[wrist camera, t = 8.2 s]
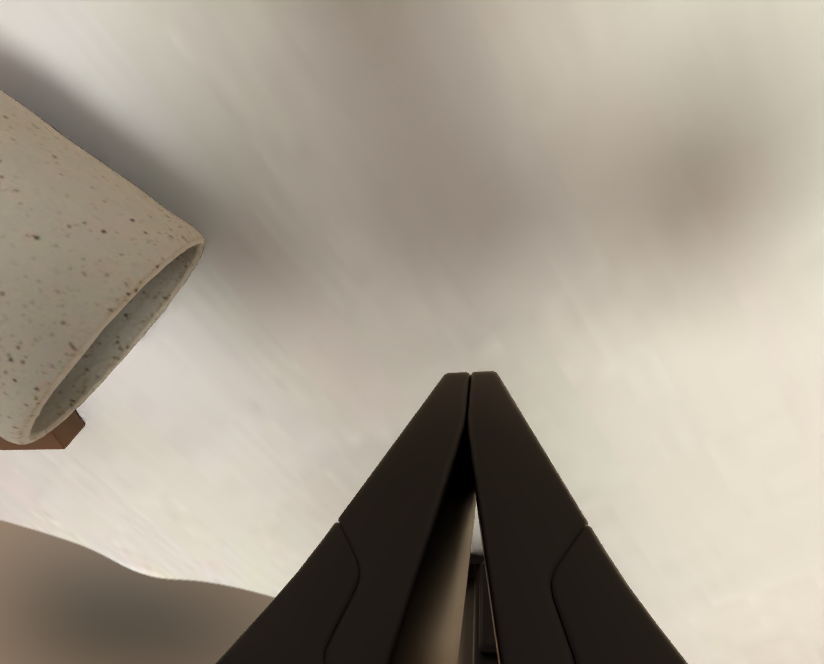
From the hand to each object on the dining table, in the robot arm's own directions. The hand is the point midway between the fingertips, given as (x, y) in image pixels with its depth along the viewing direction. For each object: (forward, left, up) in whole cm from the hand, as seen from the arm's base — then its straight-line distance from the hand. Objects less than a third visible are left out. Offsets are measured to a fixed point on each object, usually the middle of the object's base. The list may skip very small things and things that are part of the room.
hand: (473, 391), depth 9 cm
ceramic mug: (0, +14, -9) cm, 16 cm away
